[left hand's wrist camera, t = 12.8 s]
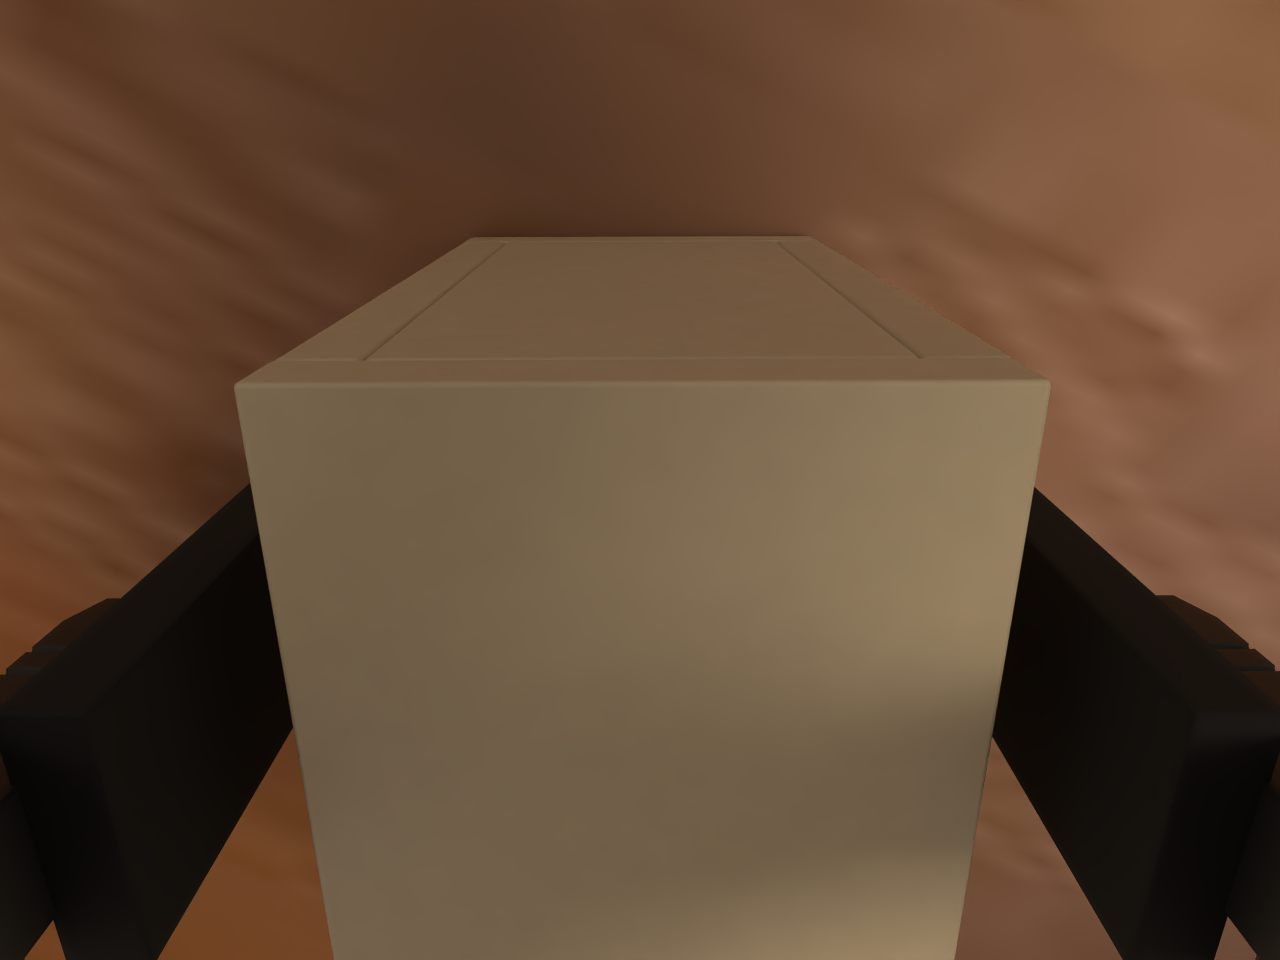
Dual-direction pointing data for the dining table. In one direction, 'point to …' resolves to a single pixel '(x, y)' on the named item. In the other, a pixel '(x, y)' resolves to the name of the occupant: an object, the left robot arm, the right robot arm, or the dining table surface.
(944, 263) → the dining table surface
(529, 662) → the beige rectangular block
